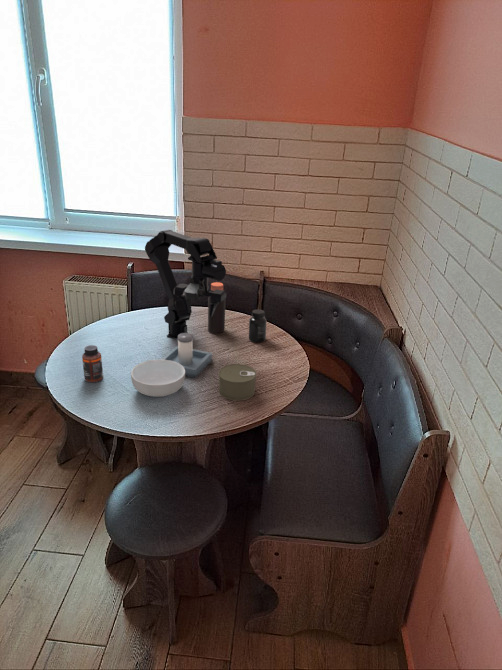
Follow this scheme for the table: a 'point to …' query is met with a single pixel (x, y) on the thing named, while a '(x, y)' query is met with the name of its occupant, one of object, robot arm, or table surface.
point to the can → (237, 382)
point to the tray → (199, 361)
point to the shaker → (185, 349)
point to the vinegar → (216, 313)
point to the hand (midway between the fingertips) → (199, 314)
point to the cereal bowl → (158, 377)
